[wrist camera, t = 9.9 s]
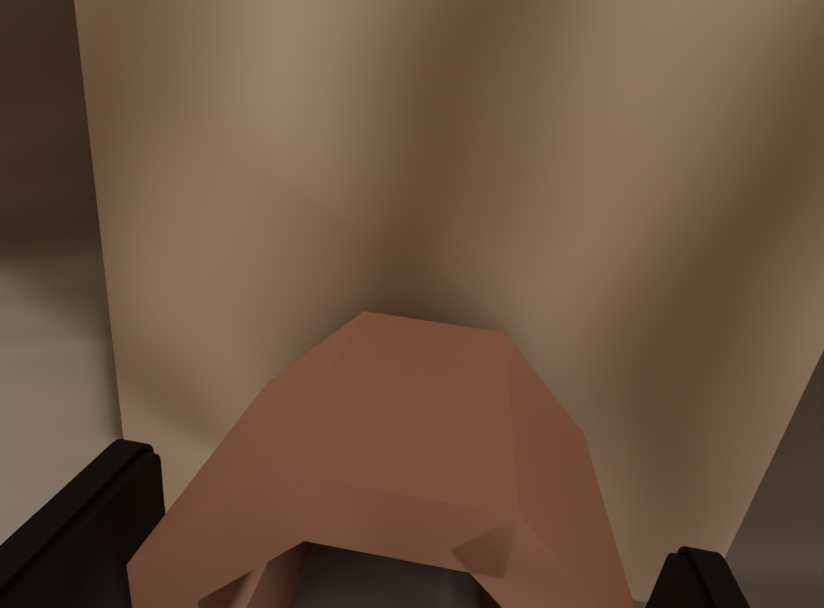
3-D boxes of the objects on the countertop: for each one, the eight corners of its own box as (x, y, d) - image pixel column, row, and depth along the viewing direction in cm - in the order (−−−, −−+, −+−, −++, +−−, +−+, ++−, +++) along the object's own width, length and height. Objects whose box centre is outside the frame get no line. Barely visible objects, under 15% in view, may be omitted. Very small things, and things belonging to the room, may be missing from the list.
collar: (607, 347, 10) (706, 549, 6) (537, 596, 13) (565, 871, 8) (268, 296, 11) (108, 441, 6) (268, 544, 14) (155, 774, 9)
